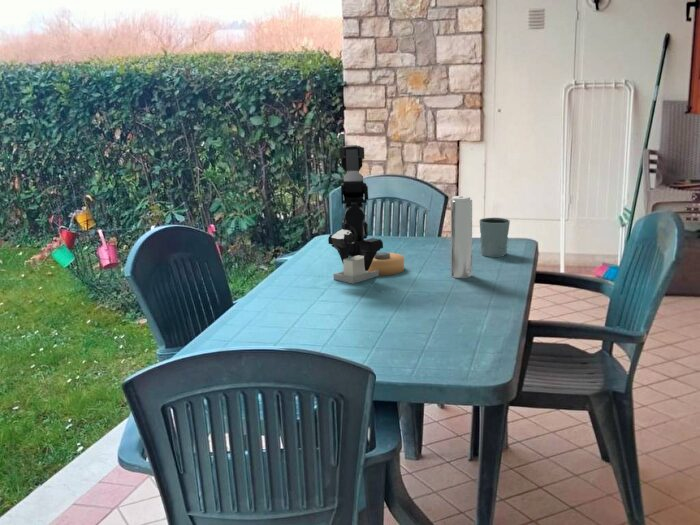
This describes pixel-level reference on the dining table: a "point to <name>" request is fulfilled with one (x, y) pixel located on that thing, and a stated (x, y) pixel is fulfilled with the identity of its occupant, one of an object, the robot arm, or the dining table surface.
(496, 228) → the grey plant pot
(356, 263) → the cream rectangular block
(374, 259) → the orange and grey base
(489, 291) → the dining table surface
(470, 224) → the white tall cylinder
